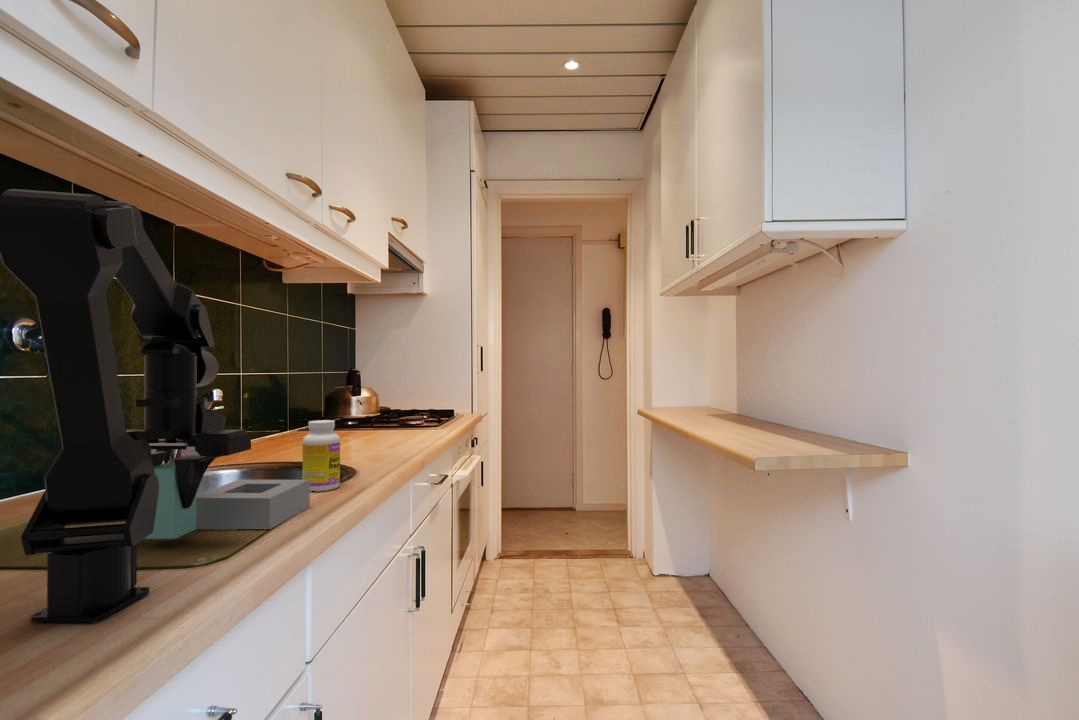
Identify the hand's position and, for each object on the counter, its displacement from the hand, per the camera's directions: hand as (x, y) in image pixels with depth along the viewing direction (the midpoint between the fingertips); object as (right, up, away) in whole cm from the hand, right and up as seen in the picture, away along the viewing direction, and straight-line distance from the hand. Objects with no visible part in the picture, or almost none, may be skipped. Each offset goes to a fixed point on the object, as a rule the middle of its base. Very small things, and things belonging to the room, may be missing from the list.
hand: (170, 507), depth 69 cm
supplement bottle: (+7, -5, +31) cm, 32 cm away
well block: (+4, -5, +12) cm, 13 cm away
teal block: (0, -4, 0) cm, 4 cm away
